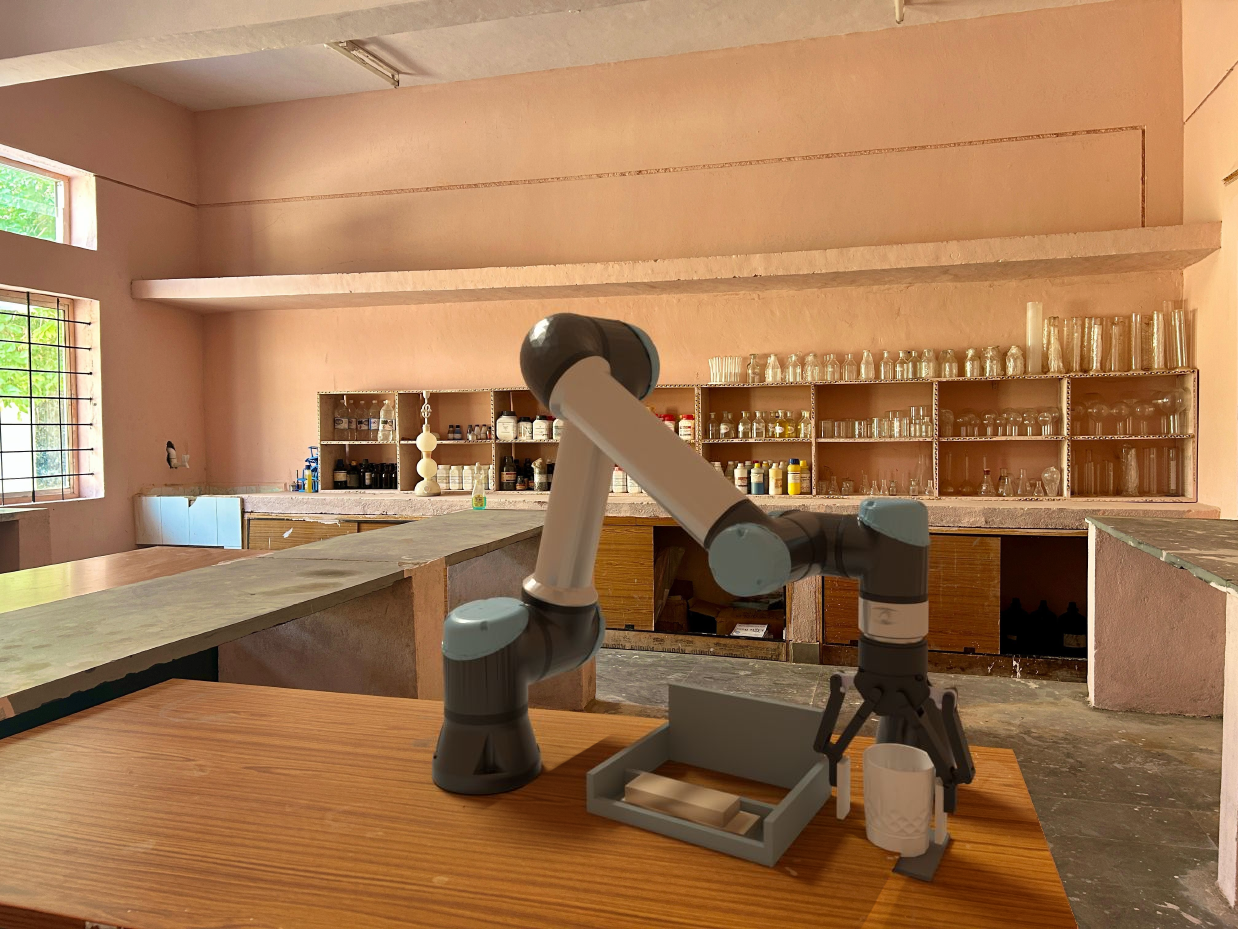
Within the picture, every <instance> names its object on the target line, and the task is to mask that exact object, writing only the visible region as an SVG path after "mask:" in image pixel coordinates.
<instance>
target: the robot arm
mask: <svg viewBox="0 0 1238 929" xmlns="http://www.w3.org/2000/svg"><path fill="white" fill-rule="evenodd" d="M660 360H661V359H660V355H659V352H658V349H657V347H656V344H654V342H653V340H652V338H651V336H650V335H649V334H648V333H647V332H646V331H645V330H643V329H642V328H641V327H639V326H637V325H634V324H631V323H628V322H624V321H622V320H619V319H611V318H604V317H597V316H587V315H583V314H578V313H573V312H558V313H554V314H549V315H547V316H546V317H543V318H542V319H541V320H539V321H537V322H536V323H535V324H534V325H532V327H531V328H530V329H529V331H528V332H527V333H526V335H525V336H524V339H523V341H522V343H521V347H520V351H519V368H520V373H521V376H522V378H523V381H524V383H525V385H526V387H527V389H529V391H530V392H531V394H532V395H533V396H534V398H535V400H537V401H538V402H539V403H540V404H541V405H542V406H543V407H544V409H546V410H547V411H548V412H549V413H550V414H551V415H552V416H553V417H554V418H556V419H557V420H559V421H563V422H562V426H561V431H560V432H561V433H560V436H559V437H560V438H559V442H558V448H557V453H556V458H555V463H554V470H553V475H552V480H551V485H550V491H549V495H548V496H549V497H548V500H547V508H546V512H545V517H544V522H543V528H542V532H541V533H542V534H541V537H540V538H541V539H540V543H539V550H538V556H537V558H536V564H535V568H534V572H533V573H532V574H530V575H529V576H527V577H525V578H524V579H523V581H522V586H521V589H520V595H519V599H518V598H514V597H508V596H507V597H505V596H501V597H500V596H499V597H497V596H496V597H489V598H488V599H483V598H482V599H477V600H473V601H469V602H467V603H464V604H462V605H459V606H457V607H455V608H454V609H453V610H451V611H450V612H449V613H448V614H447V616H446V617H445V619H444V622H443V629H442V630H443V632H442V633H443V634H442V640H441V645H440V646H441V651H442V674H443V675H442V676H443V680H442V681H443V682H442V683H443V722H442V725H441V728H440V730H439V731H440V732H439V735H438V738H437V743H436V747H435V751H434V752H433V755H432V758H431V779H432V781H433V782H434V784H436V785H437V786H438V787H440V788H442V789H444V790H446V791H449V792H451V793H452V792H453V793H458V794H464V795H465V794H466V795H489V794H491V795H492V794H498V793H504V792H509V791H512V790H515V789H518V788H521V787H524V786H526V785H528V784H529V783H531V782H532V781H534V780H536V779H537V777H538V776H539V775H540V774H541V770H542V752H541V749H540V746H539V744H538V743H537V740H536V736H535V732H534V729H533V726H532V723H531V719H530V716H529V686H531V685H533V684H536V683H539V682H541V681H544V680H547V679H549V678H552V677H554V676H557V675H560V674H563V673H568V672H571V671H574V670H575V669H579V667H582V665H584V664H586V663H588V662H589V661H591V660H592V659H593V658H594V657H596V655H597V654H598V653H599V651H600V649H601V647H602V645H603V643H604V640H605V637H606V629H607V628H606V627H607V626H606V617H605V616H604V615H603V614H602V611H603V608H602V606H601V605H600V603H599V602H598V600H599V593H598V591H597V589H596V587H595V586H594V585H593V584H592V580H593V579H592V578H593V573H594V568H595V563H596V559H597V553H598V549H599V543H600V540H601V534H602V529H603V525H604V519H605V514H606V509H607V505H608V499H609V495H610V491H611V490H610V489H611V486H612V480H613V475H614V471H615V465H617V467H618V468H619V469H621V471H623V473H625V474H626V475H627V476H628V477H629V478H630V479H631V480H632V481H633V482H634V483H635V484H636V485H637V486H638V487H639V488H640V489H642V491H643V492H645V493H646V494H647V495H648V496H649V497H650V498H651V499H652V500H653V502H655V503H656V504H657V505H658V506H659V507H660V508H662V509H663V510H664V512H665V513H667V514H668V515H669V517H670V518H672V519H673V520H674V521H675V522H676V523H677V524H678V525H680V527H681V528H682V529H683V530H684V531H686V533H688V535H689V536H691V537H692V538H693V539H694V540H695V541H696V542H697V543H698V544H699V545H700V546H701V547H702V548H703V549H704V550H705V551H706V552H707V554H708V567H709V568H710V571H711V574H712V576H713V579H714V581H715V582H716V583H717V585H718V586H720V587H721V589H722V590H724V591H725V592H727V593H729V594H731V595H733V596H738V597H744V598H745V597H746V598H747V597H753V596H758V595H767V594H771V593H773V592H775V591H776V590H779V589H780V588H782V587H784V586H787V585H789V584H792V583H797V582H799V581H802V580H804V579H807V578H810V577H812V576H823V577H833V578H844V579H850V580H853V579H854V580H857V581H858V582H857V583H858V629H859V630H860V631H861V633H860V635H859V636H858V638H857V641H858V642H857V651H858V652H857V672H856V673H855V674H854V673H853V674H852V673H846V671H844V670H842V669H839V670H836V671H835V672H834V673H833V674H832V675H831V676H829V697H828V700H827V703H826V706H825V709H824V715H823V718H822V721H821V724H820V727H819V730H818V733H817V736H816V739H815V742H814V745H813V749H814V751H815V752H817V753H822V754H824V756H827V757H828V759H829V783H830V786H832V788H833V787H834V788H836V818H837V819H840V820H844V819H845V818H846V816H847V815H848V814H849V812H850V810H851V756H850V755H849V756H847V755H844V753H845V752H846V750H847V749H848V747H849V745H850V744H851V743H852V742H853V740H854V739H855V737H856V735H857V734H858V733H859V731H860V730H861V729H862V727H863V726H864V724H865V723H866V721H867V720H868V718H869V717H870V716H871V715H872V713H874V714H875V716H876V717H880V716H882V717H884V716H891V717H893V718H895V719H898V720H904V719H907V721H908V723H909V725H910V726H911V728H912V729H914V730H915V732H916V734H917V736H918V738H919V739H920V741H921V743H922V745H923V747H924V749H925V750H926V752H927V754H928V756H929V758H930V759H931V761H932V763H933V765H934V767H935V769H936V770H937V772H938V774H939V776H940V778H939V779H938V781H937V783H936V785H935V794H934V800H935V801H934V829H935V843H937V844H941V845H942V843H943V841H944V839H945V837H946V835H947V833H948V827H947V826H948V824H947V823H948V814H950V815H953V814H954V813H955V811H956V808H957V806H958V785H962V784H963V785H970V784H972V782H973V780H974V779H975V776H976V773H977V771H976V767H975V764H974V761H973V757H972V753H971V751H970V747H969V744H968V741H967V737H966V734H965V730H964V728H963V724H962V720H961V717H960V715H959V714H960V713H959V711H958V701H959V700H958V698H959V690H958V691H957V690H956V689H955V688H953V687H954V686H950V688H949V687H947V688H948V689H947V690H946V689H942V687H936V686H934V687H932V686H931V684H930V682H929V680H930V679H929V677H928V674H929V673H928V671H929V668H928V667H929V664H928V663H929V661H928V660H929V659H928V658H929V656H928V654H929V642H928V640H927V638H926V637H925V636H926V635H928V634H929V573H930V571H929V570H930V569H929V568H930V545H931V543H932V541H931V538H930V525H929V510H928V507H927V506H926V504H925V503H924V502H922V501H920V500H918V499H914V498H906V497H905V498H904V497H902V498H901V497H868V498H865V499H862V500H861V501H860V503H859V509H858V511H857V513H852V514H851V513H847V514H845V513H833V512H824V511H823V512H820V511H808V510H801V509H797V508H796V509H795V508H793V509H784V510H781V509H773V510H771V511H769V512H767V513H766V512H765V511H764V510H763V509H762V508H760V507H759V506H758V505H757V504H756V503H755V502H753V500H752V499H750V498H749V497H748V496H747V495H746V494H745V493H743V492H742V491H741V490H740V489H739V488H738V487H737V486H736V485H735V484H734V483H732V481H730V480H729V479H728V478H727V477H726V476H724V474H723V473H721V472H720V471H719V470H718V469H717V468H716V467H714V466H713V465H712V464H711V463H710V462H709V461H708V460H706V458H704V457H703V456H702V455H701V454H700V453H699V452H698V451H697V450H695V448H693V447H692V446H691V445H689V443H687V442H686V441H685V440H684V439H683V438H682V437H680V435H679V434H678V433H676V432H675V431H674V430H673V429H672V428H671V427H670V426H668V425H667V424H666V422H664V421H663V420H662V419H661V418H659V417H658V416H657V415H656V414H655V413H654V412H653V411H652V410H650V409H649V408H648V407H647V406H646V405H645V404H643V403H642V401H644V400H646V398H647V397H648V396H649V395H651V394H652V393H653V391H654V390H655V388H656V386H657V384H658V381H659V377H660V372H661V362H660ZM852 686H854V687H855V689H856V690H857V692H858V693H859V695H860V697H861V698H862V699H863V701H862V703H861V705H859V707H858V709H857V710H856V712H855V714H854V715H853V717H852V719H851V720H850V721H849V723H848V724H847V726H846V727H845V728H844V730H843V732H842V733H841V734H840V736H839V737H838V739H837V740H836V742H832V741H831V739H832V736H833V733H834V732H835V731H834V730H835V727H836V724H837V722H838V719H839V716H840V713H841V709H842V707H843V703H844V701H845V698H846V693H848V692H849V691H850V690H851V689H852ZM929 697H930V698H932V699H934V701H935V704H936V706H937V708H939V709H941V710H942V718H943V722H944V726H945V729H946V732H947V736H948V739H949V742H950V746H951V749H952V752H953V756H954V759H955V763H956V767H955V766H954V764H953V762H952V761H951V759H950V757H949V755H948V753H947V752H946V750H945V748H944V746H943V744H942V743H941V741H940V739H939V737H938V736H937V734H936V732H935V730H934V728H933V727H932V725H931V723H930V721H929V719H928V715H927V713H926V711H925V709H924V707H923V706H922V705H923V704H924V703H925V701H926V700H927V699H928V698H929Z"/></svg>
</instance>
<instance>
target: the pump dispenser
mask: <svg viewBox="0 0 1238 929" xmlns="http://www.w3.org/2000/svg"><path fill="white" fill-rule="evenodd" d="M928 680H929V682H930V684H931V686H932V687H935V685H934V684H933V682H932V681H931V680H930V679H928ZM950 687H951V686H950ZM950 687H943V688H942V687H941V689H946V690H947V689H948V688H950ZM952 687H953V688H955V689H956V690H957V691H958V692H959V690H958V688H957V687H956V686H952ZM922 706H923V707H924V709H925V711H926V713H927V715H928V719H929V721H930V723H931V725H932V727H933V728H934V730H935V732H936V734H937V736H938V737H939V739H940V741H941V743H942V744H943V746H944V748H945V750H946V752H947V753H948V755H949V757H950V759H951V761H952V762H953V764H954V766H955V768H957V766H956V763H955V759H954V756H953V752H952V749H951V746H950V742H949V739H948V736H947V732H946V729H945V726H944V722H943V718H942V710H941V709H939V708H937V706H936V704H935V701H934V699H932V698H930V697H929V698H928V699H927V700H926V701H925V703H924V704H923V705H922ZM876 744H901V745H907V746H911V747H914V748H917V749H920V750H923V751H925V752H926V750H925V749H924V747H923V745H922V743H921V741H920V739H919V738H918V736H917V734H916V732H915V730H914V729H912V728H911V726H910V725H909V723H908V721H907V719H904V720H898V719H895V718H893V717H891V716H884V717H882V716H879V719H878V724H877V728H876V733H875V740H874V745H876ZM939 778H940V776H939V774H938V772H937V770H936V773H935V785H936V783H937V781H938V779H939ZM934 795H935V786H934Z"/></svg>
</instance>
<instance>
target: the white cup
mask: <svg viewBox="0 0 1238 929" xmlns="http://www.w3.org/2000/svg"><path fill="white" fill-rule="evenodd" d="M862 772H863V774H862V775H863V804H864V817H865V834H866V838H867V840H869V841H870V842H871V843H872V844H874V845H875V846H877V847H879V848H882V849H884V850H886V851H890V852H896V853H901V854H900V855H899V857H916V856H919V855H922V854H924V853H925V852H926V850H927V849H928V847H929V835H930V828H931V825H932V819H933V808H934V800H935V794H934V786H935V773H936V769H935V767H934V765H933V763H932V761H931V759H930V758H929V756H928V754H927V752H925V751H923V750H920V749H917V748H914V747H911V746H907V745H901V744H876V745H875V744H872V745H869V746H866V748H865V749H863V751H862Z"/></svg>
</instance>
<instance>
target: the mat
mask: <svg viewBox="0 0 1238 929" xmlns="http://www.w3.org/2000/svg"><path fill="white" fill-rule="evenodd" d="M950 839H951V833H950V832H947V835H946V837H945V839H944V841H943V843H942V845H941V844H937V843H935V828H931V827H930V835H929V847H928V849H927V850H926V852H925V853H924V854H922V855H919V856H916V857H900V856H899V857H898V859H897V861H896V862H895V864H894V866H893V868H892V870H891V872H893V873H896V874H900V875H902V876H903V875H904V876H907V877H911V878H915V879H918V880H922V881H926V882H929V883H931V882H932V881H933V878H934V876H935V873H936V871H937V868H938V866H939V865H940V862H941V859H942V858H943V854H944V852H945V850H946V848H947V846H948V844H949V841H950Z"/></svg>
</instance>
